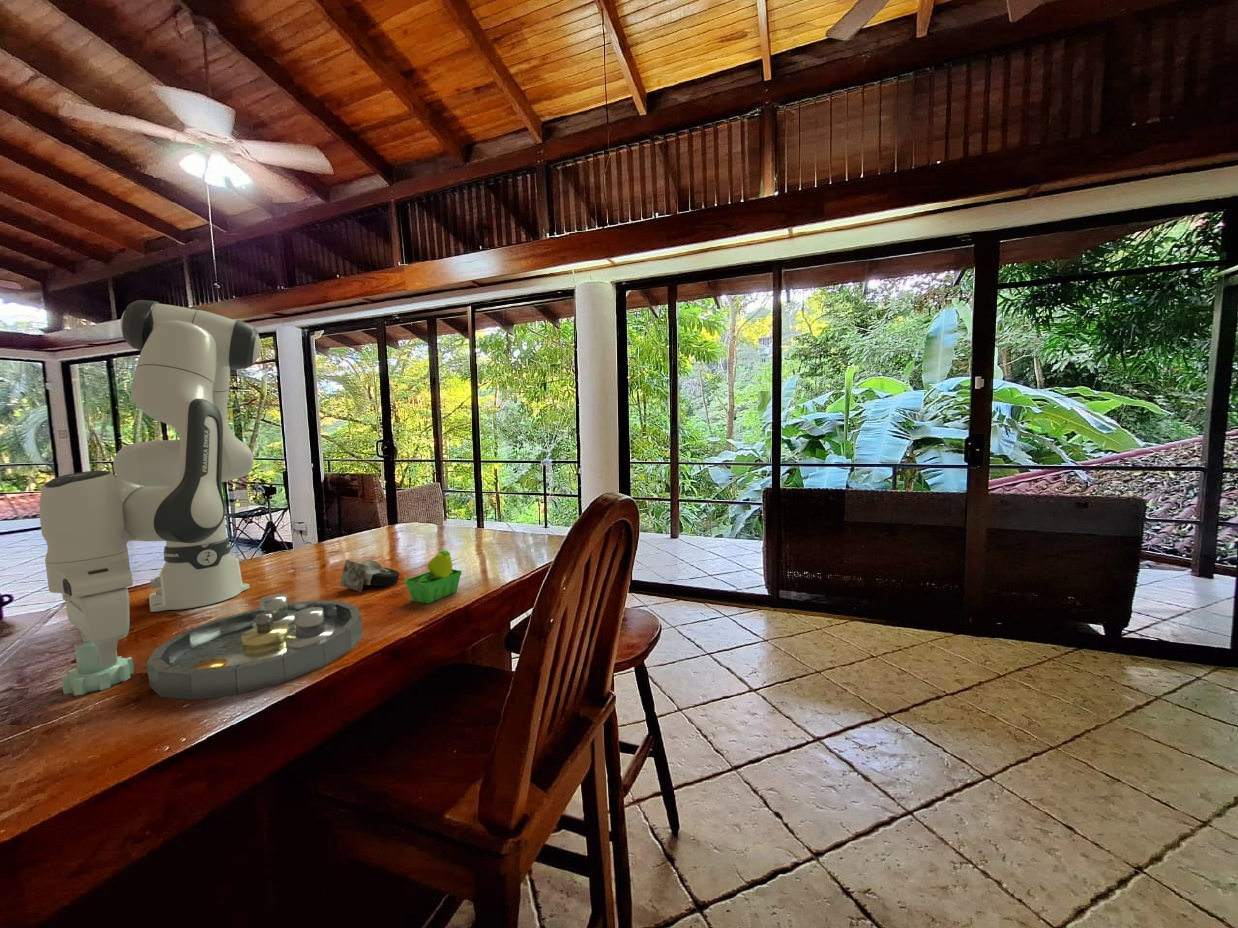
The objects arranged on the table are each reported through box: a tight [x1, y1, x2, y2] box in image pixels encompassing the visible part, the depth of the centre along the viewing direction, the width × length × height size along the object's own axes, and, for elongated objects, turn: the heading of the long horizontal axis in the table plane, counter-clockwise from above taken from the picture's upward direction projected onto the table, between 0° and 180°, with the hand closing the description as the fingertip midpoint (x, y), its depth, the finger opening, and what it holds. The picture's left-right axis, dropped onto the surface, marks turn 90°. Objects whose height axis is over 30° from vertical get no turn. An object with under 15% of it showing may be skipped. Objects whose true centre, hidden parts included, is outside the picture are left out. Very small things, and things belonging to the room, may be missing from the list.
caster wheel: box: [339, 559, 400, 593], centre depth 124 cm, size 7×11×10 cm
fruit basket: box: [404, 550, 463, 604], centre depth 113 cm, size 11×9×11 cm
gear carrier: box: [146, 593, 363, 701], centre depth 86 cm, size 30×30×8 cm
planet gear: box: [61, 641, 135, 696], centre depth 77 cm, size 8×8×6 cm
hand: (100, 657), depth 77 cm, fingers open, 8 cm apart
